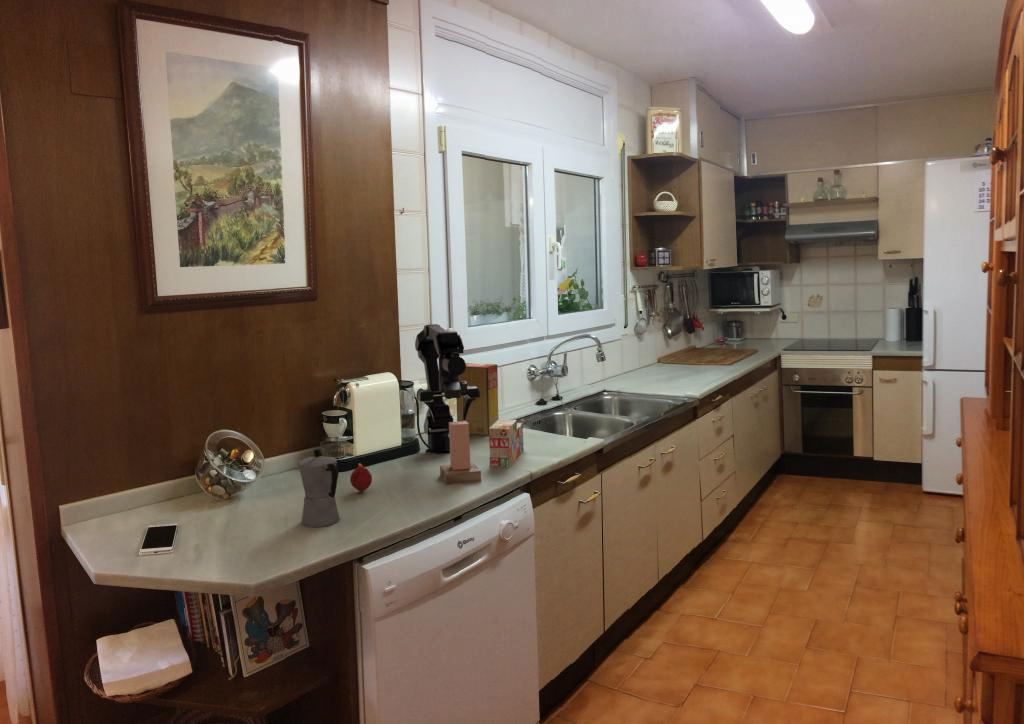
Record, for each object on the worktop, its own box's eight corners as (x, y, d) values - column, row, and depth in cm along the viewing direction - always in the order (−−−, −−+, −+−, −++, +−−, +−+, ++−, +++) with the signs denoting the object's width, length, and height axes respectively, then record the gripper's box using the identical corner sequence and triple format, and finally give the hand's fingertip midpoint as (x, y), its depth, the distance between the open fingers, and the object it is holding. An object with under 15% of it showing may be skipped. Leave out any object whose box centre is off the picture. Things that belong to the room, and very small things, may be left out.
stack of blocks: (505, 449, 251) (504, 413, 249) (523, 450, 249) (523, 413, 248) (489, 467, 230) (488, 427, 228) (509, 467, 229) (508, 428, 227)
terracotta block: (450, 466, 219) (448, 422, 218) (467, 465, 221) (465, 421, 219) (453, 470, 215) (451, 424, 214) (470, 468, 216) (468, 423, 215)
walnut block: (440, 477, 221) (439, 465, 221) (473, 473, 224) (473, 462, 224) (446, 486, 212) (446, 474, 211) (481, 482, 215) (480, 470, 214)
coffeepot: (290, 519, 185) (285, 448, 183) (324, 510, 192) (320, 441, 189) (321, 535, 174) (317, 459, 172) (357, 524, 181) (353, 451, 178)
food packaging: (500, 430, 279) (498, 363, 275) (489, 436, 270) (487, 367, 267) (468, 428, 284) (466, 362, 281) (456, 433, 276) (454, 365, 272)
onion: (376, 490, 208) (375, 462, 207) (364, 496, 203) (363, 467, 202) (359, 488, 210) (357, 460, 209) (346, 494, 205) (345, 465, 204)
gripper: (422, 376, 222) (424, 428, 224) (483, 373, 227) (485, 423, 229) (416, 371, 233) (418, 421, 235) (475, 368, 238) (476, 416, 240)
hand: (449, 421), depth 235 cm, fingers open, 9 cm apart
